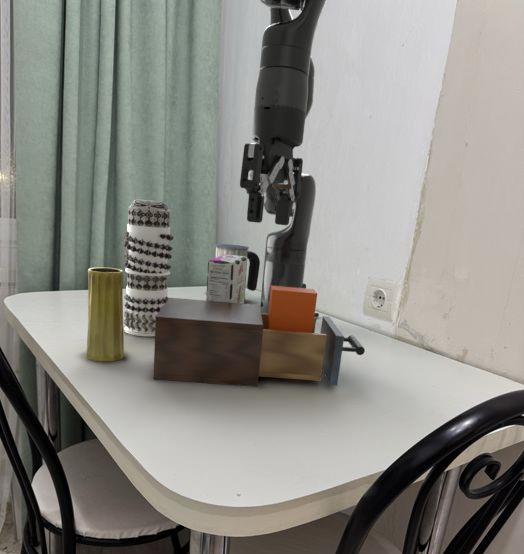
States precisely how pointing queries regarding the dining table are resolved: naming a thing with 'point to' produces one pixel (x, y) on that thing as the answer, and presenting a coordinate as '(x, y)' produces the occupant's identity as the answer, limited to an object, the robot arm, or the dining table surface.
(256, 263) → the milk frother
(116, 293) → the vase
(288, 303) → the orange rectangular prism
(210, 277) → the candy bar box
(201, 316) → the cabinet
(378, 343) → the dining table surface
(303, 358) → the drawer
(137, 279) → the white patterned cylinder
